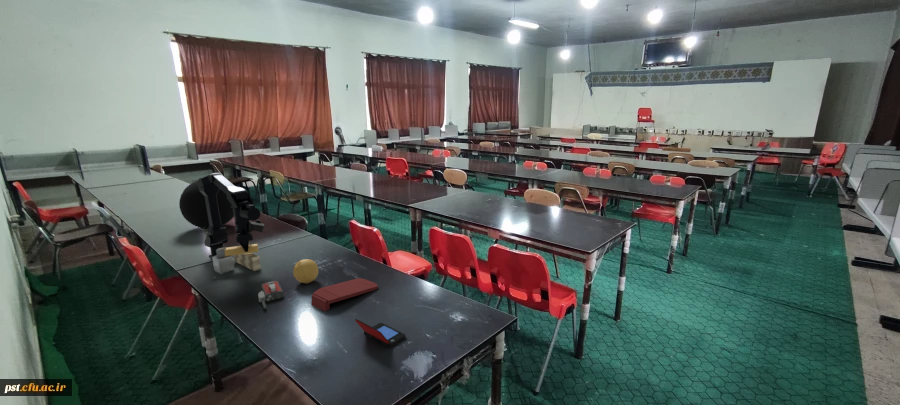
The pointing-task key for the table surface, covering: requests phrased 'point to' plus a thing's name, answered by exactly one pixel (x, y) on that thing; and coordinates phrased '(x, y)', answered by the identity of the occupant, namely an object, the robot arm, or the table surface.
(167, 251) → the table surface
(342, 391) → the table surface
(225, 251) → the bar
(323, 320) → the table surface
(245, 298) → the table surface
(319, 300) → the dark red long block
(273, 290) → the walkie-talkie
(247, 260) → the grey-beige crossed blocks
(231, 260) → the jamb post
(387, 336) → the handheld game console
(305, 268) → the stress ball
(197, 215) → the sphere
